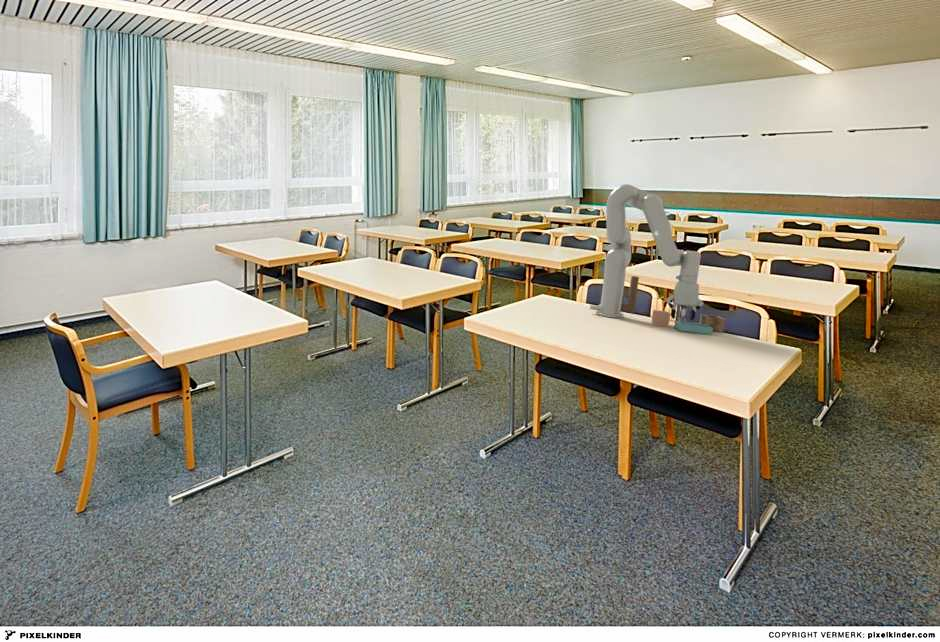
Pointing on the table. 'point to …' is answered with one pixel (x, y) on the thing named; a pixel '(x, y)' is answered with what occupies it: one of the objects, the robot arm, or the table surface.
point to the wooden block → (630, 296)
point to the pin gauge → (682, 313)
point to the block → (660, 318)
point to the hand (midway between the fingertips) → (682, 318)
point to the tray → (693, 327)
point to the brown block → (713, 322)
